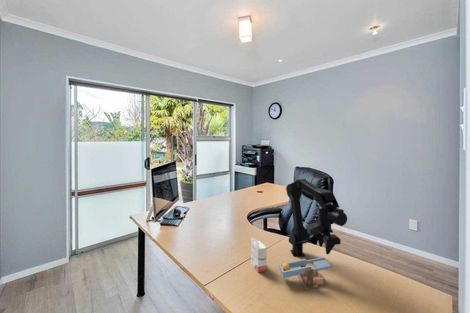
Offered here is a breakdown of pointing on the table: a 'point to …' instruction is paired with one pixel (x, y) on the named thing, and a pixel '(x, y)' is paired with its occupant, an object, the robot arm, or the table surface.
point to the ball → (286, 266)
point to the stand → (309, 279)
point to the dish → (317, 278)
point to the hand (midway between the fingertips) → (324, 250)
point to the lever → (297, 270)
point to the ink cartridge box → (258, 255)
